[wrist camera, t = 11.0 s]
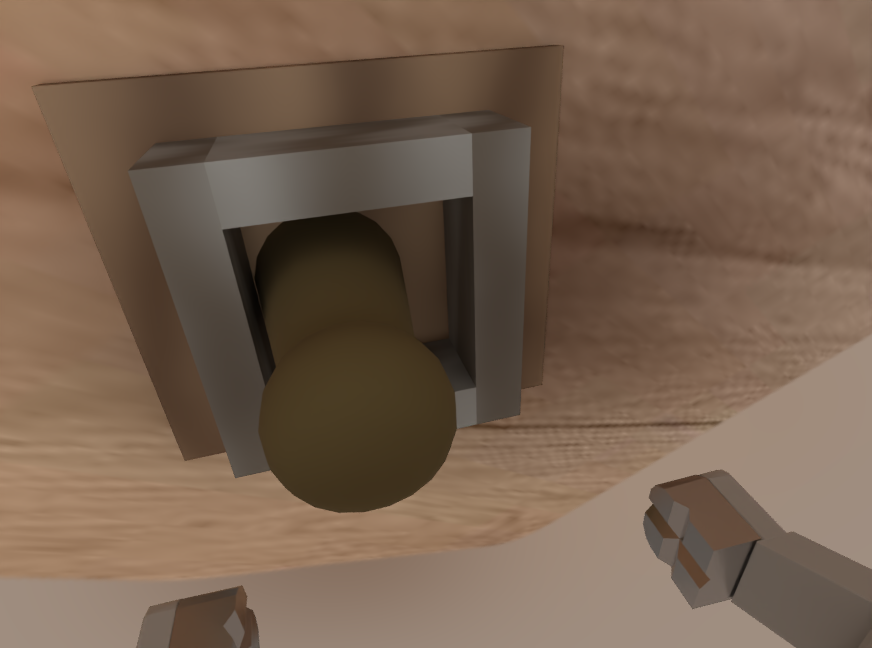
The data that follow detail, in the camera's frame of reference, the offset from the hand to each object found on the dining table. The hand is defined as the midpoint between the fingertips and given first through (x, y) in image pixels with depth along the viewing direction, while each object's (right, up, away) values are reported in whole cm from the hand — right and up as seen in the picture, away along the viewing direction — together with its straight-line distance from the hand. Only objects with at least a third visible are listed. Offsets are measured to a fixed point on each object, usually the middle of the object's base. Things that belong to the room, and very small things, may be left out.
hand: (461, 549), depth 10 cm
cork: (-5, +6, +12) cm, 14 cm away
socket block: (-4, +7, +13) cm, 15 cm away
